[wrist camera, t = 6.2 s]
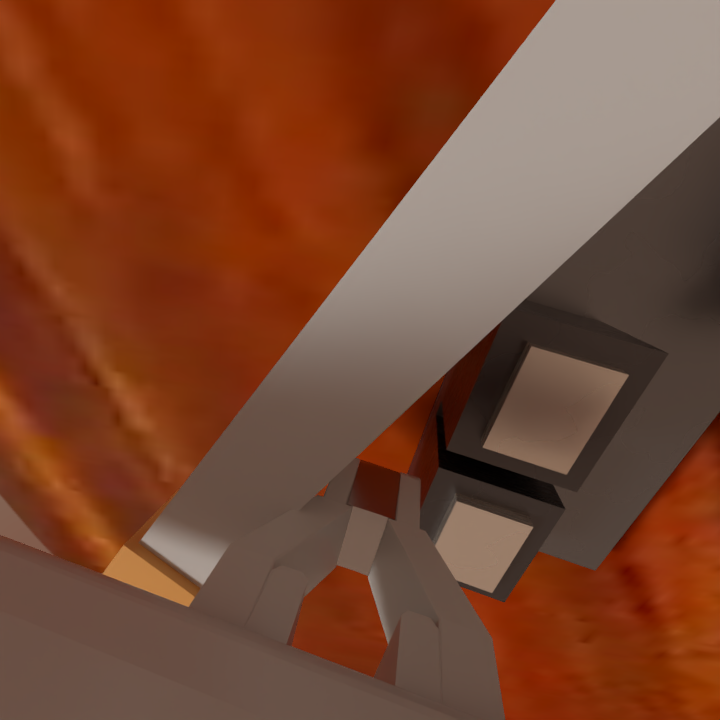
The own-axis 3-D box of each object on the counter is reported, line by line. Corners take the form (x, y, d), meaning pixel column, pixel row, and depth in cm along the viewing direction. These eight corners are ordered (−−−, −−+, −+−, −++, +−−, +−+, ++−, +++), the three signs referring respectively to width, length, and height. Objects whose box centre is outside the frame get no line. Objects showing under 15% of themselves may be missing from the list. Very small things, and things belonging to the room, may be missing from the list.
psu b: (436, 414, 14) (439, 475, 10) (532, 445, 13) (571, 519, 10) (403, 497, 15) (396, 574, 12) (488, 526, 15) (506, 613, 12)
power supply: (486, 288, 12) (511, 310, 8) (601, 321, 11) (680, 358, 8) (441, 400, 13) (447, 457, 10) (540, 431, 13) (582, 502, 10)
